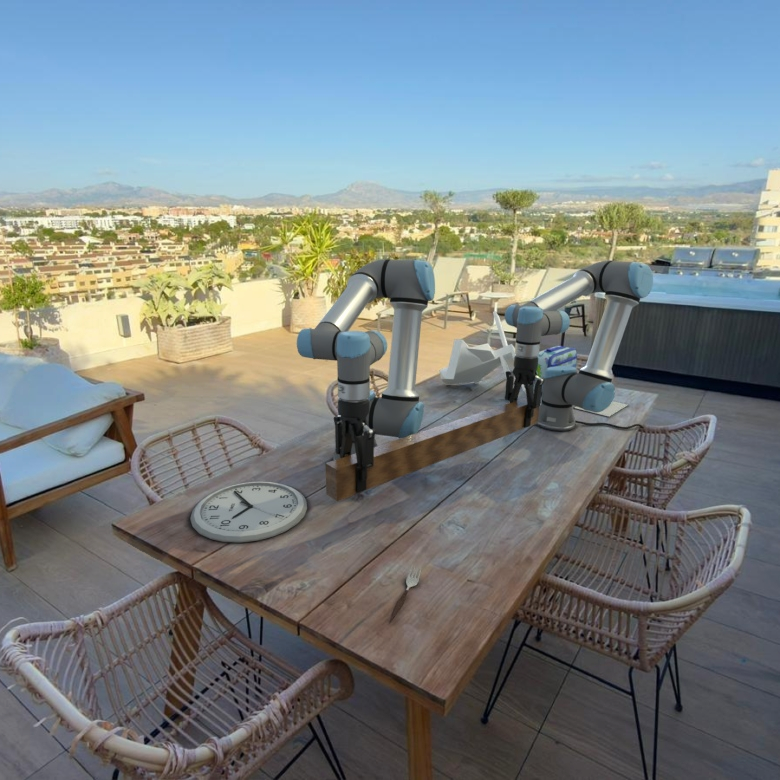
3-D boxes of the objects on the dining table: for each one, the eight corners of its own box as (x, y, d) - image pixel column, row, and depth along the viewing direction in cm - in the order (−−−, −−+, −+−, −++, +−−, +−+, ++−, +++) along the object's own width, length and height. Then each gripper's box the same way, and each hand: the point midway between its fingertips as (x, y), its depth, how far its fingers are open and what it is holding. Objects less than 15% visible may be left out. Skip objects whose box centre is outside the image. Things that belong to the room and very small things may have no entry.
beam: (526, 419, 180) (528, 396, 178) (537, 423, 177) (540, 400, 174) (325, 494, 127) (325, 463, 125) (337, 501, 124) (336, 469, 122)
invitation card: (608, 416, 214) (573, 407, 224) (608, 416, 214) (573, 408, 224) (628, 404, 229) (594, 396, 238) (628, 405, 229) (594, 397, 238)
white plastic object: (461, 429, 252) (437, 405, 227) (444, 352, 274) (420, 323, 250) (535, 404, 240) (518, 377, 215) (510, 326, 262) (492, 293, 237)
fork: (385, 619, 101) (385, 611, 101) (410, 571, 116) (411, 563, 115) (398, 623, 100) (398, 614, 100) (422, 574, 115) (422, 566, 114)
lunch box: (548, 399, 235) (554, 353, 228) (527, 393, 242) (532, 349, 236) (576, 387, 252) (581, 345, 246) (555, 383, 259) (560, 341, 253)
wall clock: (302, 534, 126) (174, 538, 123) (303, 540, 126) (175, 544, 124) (310, 477, 154) (206, 479, 152) (310, 482, 155) (206, 484, 152)
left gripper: (319, 391, 127) (321, 478, 134) (364, 411, 114) (364, 505, 121) (344, 386, 132) (345, 470, 139) (390, 404, 119) (389, 495, 126)
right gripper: (496, 352, 171) (491, 419, 178) (544, 363, 158) (536, 434, 165) (510, 349, 175) (505, 414, 183) (557, 359, 163) (549, 429, 170)
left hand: (354, 486), depth 130 cm, fingers closed on beam, 5 cm apart
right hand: (520, 423), depth 174 cm, fingers closed on beam, 5 cm apart
